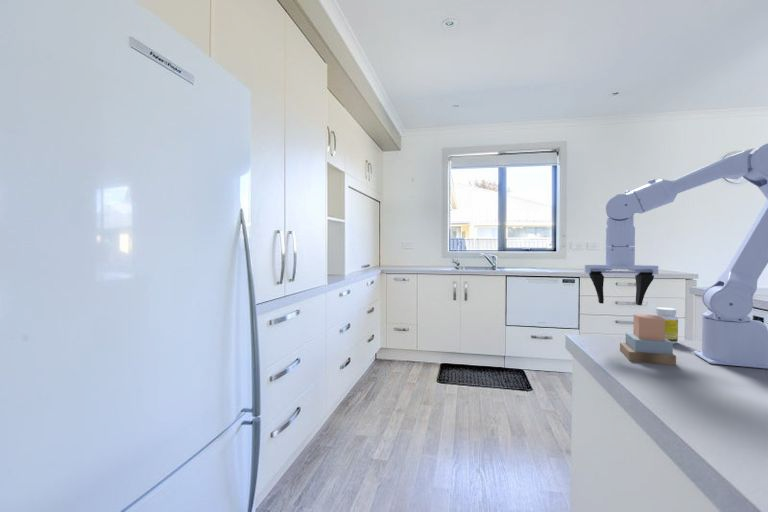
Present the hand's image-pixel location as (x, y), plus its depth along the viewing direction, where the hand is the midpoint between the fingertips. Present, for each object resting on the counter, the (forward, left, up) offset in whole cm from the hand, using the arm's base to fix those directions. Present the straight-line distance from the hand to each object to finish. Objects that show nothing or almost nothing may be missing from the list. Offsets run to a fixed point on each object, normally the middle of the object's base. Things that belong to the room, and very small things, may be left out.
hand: (619, 303), depth 84 cm
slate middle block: (-4, +7, -8) cm, 12 cm away
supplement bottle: (-12, -10, -11) cm, 19 cm away
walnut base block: (-4, +7, -11) cm, 14 cm away
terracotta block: (-4, +7, -6) cm, 10 cm away
